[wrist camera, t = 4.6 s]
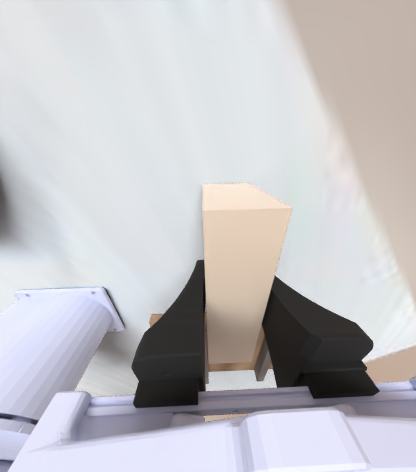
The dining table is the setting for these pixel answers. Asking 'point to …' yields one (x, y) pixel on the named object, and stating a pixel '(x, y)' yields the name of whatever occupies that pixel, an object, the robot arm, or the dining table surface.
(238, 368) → the tan panel with rails
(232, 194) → the beige rectangular block
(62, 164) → the dining table surface
